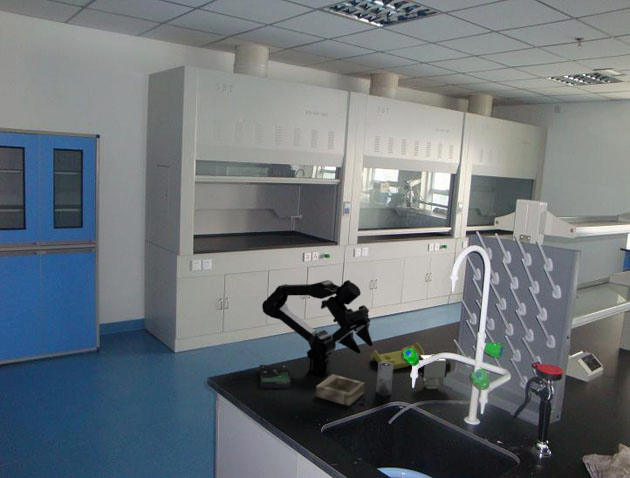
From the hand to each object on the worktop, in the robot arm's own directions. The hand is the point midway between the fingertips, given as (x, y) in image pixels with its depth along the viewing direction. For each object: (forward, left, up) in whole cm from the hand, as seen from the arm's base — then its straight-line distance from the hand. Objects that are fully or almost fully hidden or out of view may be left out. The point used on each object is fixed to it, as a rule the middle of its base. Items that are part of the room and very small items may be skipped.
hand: (365, 349), depth 175 cm
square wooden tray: (-3, -11, -13) cm, 17 cm away
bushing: (+8, -1, -13) cm, 15 cm away
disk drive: (-28, -13, -14) cm, 34 cm away
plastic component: (+3, +27, -14) cm, 31 cm away
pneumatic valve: (+20, +13, -13) cm, 27 cm away
